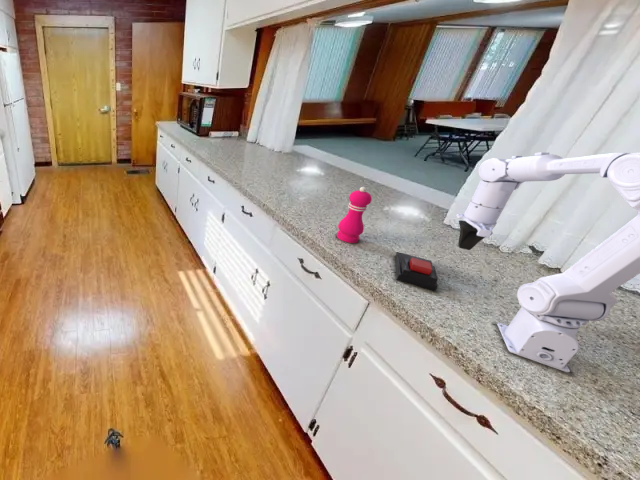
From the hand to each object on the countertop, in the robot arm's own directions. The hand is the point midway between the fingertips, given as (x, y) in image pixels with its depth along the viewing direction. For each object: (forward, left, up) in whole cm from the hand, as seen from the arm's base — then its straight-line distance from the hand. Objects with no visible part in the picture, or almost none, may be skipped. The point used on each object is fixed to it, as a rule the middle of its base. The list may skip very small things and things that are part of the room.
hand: (463, 247), depth 81 cm
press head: (-7, +8, -7) cm, 12 cm away
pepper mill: (+8, +25, -10) cm, 28 cm away
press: (-3, +8, -10) cm, 13 cm away
